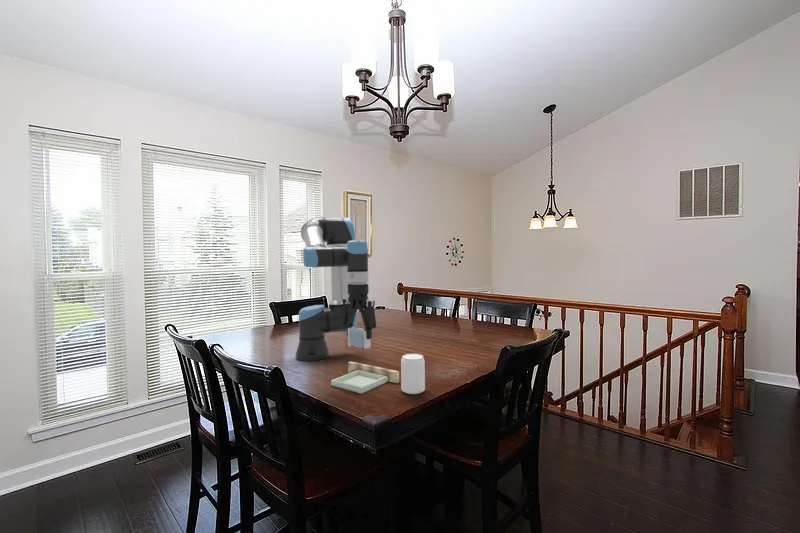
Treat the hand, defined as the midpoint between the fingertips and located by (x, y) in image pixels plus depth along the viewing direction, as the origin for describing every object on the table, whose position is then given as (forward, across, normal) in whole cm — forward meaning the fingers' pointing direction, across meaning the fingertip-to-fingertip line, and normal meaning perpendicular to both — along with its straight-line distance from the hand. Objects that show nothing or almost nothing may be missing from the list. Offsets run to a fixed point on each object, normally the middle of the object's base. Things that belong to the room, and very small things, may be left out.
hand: (359, 346), depth 140 cm
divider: (+14, -1, +9) cm, 16 cm away
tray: (+14, 0, 0) cm, 14 cm away
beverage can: (+14, +20, +5) cm, 25 cm away
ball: (0, 0, 0) cm, 0 cm away
